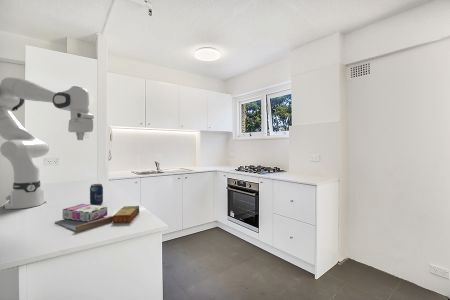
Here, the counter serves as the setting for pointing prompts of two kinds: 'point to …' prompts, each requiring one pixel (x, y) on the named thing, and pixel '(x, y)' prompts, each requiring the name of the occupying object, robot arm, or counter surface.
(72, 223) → the mat
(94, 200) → the soda can
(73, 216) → the candy bar box
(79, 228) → the stop rail
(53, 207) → the counter surface
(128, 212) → the carton
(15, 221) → the counter surface
